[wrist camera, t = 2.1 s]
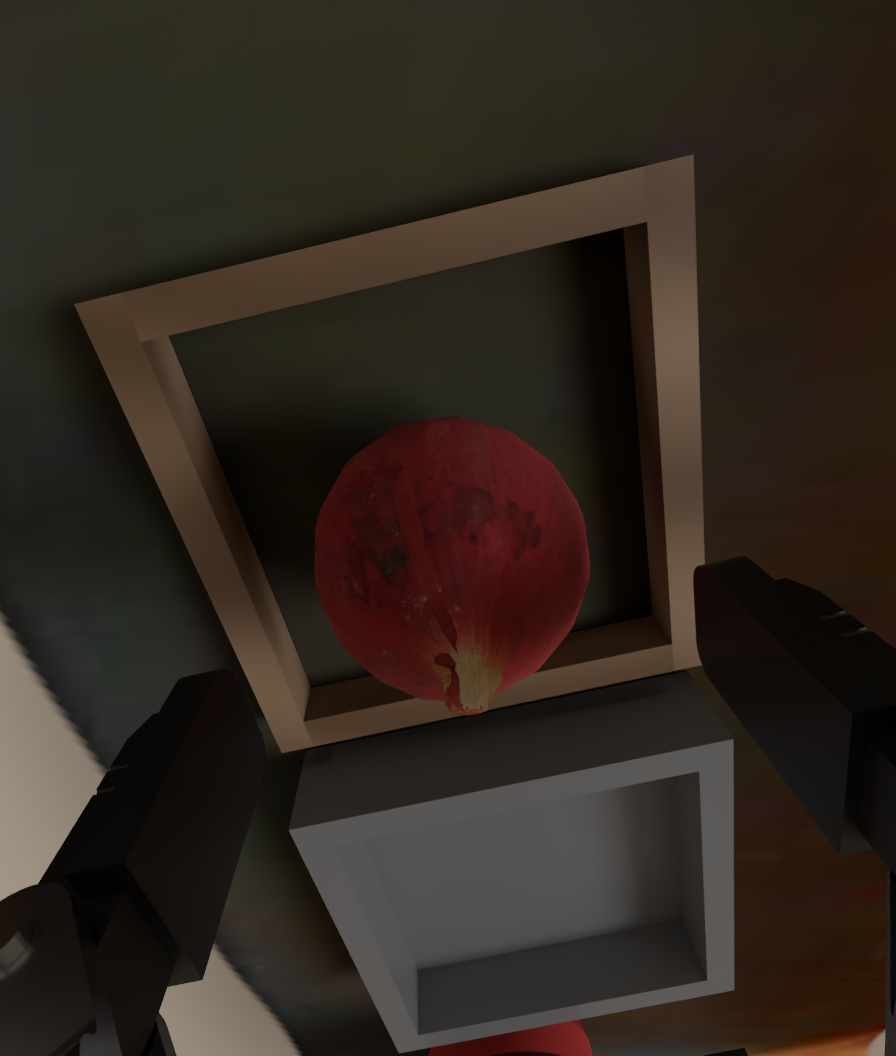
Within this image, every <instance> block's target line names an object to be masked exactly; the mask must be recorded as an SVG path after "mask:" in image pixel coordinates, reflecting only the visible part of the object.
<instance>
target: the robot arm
mask: <svg viewBox="0 0 896 1056" xmlns="http://www.w3.org/2000/svg"><path fill="white" fill-rule="evenodd" d="M693 588H694V608H695V627H696V644H697V650H698V654H699V658H700V661H701V664H702V666H703V668H704V671H705V673H706V675H707V676H708V678H709V680H710V681H711V682H712V684H713V685H714V686H715V688H716V689H717V690H718V692H719V693H720V695H721V696H722V697H723V699H724V700H725V701H726V703H727V704H728V705H729V707H730V708H731V709H732V711H733V712H734V713H735V715H736V716H737V717H738V719H739V720H740V721H741V723H742V724H743V725H744V727H745V728H746V730H747V731H748V732H749V734H750V735H751V736H752V738H753V739H754V740H755V742H756V743H757V744H758V746H759V747H760V748H761V750H762V751H763V752H764V754H765V755H766V756H767V758H768V759H769V761H770V762H771V763H772V765H773V766H774V767H775V769H776V770H777V771H778V773H779V774H780V775H781V777H782V778H783V779H784V781H785V782H786V783H787V785H788V786H789V787H790V789H791V790H792V792H793V793H794V794H795V796H796V797H797V798H798V800H799V801H800V802H801V804H802V805H803V806H804V808H805V809H806V810H807V812H808V813H809V814H810V816H811V817H812V818H813V820H814V821H815V822H816V824H817V825H818V827H819V828H820V829H821V831H822V832H823V833H824V835H825V836H826V837H827V839H828V840H829V841H830V843H831V844H832V845H833V847H834V848H835V849H836V851H837V852H838V853H839V855H844V854H849V853H854V852H859V851H864V850H869V849H874V850H875V851H876V853H877V854H878V855H879V856H880V858H881V859H882V860H883V861H884V862H885V864H886V865H887V866H888V874H887V882H886V1036H885V1038H886V1039H885V1056H896V649H895V648H893V647H892V646H891V645H889V644H888V643H887V642H885V641H884V640H883V639H882V638H880V637H879V636H878V635H876V634H875V633H874V632H872V631H871V632H868V631H867V627H866V626H865V625H863V624H862V623H861V622H859V621H858V620H857V619H855V618H854V617H853V616H851V615H846V613H845V610H844V609H842V608H841V607H840V606H838V605H837V604H836V603H835V602H833V601H832V600H831V599H829V598H828V597H827V596H825V595H824V594H823V593H821V592H820V591H818V590H815V589H813V588H810V587H808V586H805V585H802V584H800V583H797V582H795V581H792V580H790V579H787V578H784V579H779V580H774V579H773V578H772V577H771V576H769V575H768V574H767V573H766V572H765V571H763V570H762V569H761V568H760V567H759V566H757V565H756V564H755V563H754V562H752V561H751V560H750V559H749V558H747V557H745V556H741V557H736V558H731V559H727V560H722V561H718V562H713V563H709V564H704V565H699V566H697V567H696V568H695V570H694V574H693ZM265 766H266V751H265V744H264V740H263V737H262V734H261V732H260V729H259V727H258V725H257V723H256V721H255V719H254V716H253V714H252V712H251V710H250V708H249V706H248V703H247V701H246V699H245V697H244V695H243V693H242V690H241V688H240V686H239V684H238V682H237V680H236V678H235V676H234V674H233V673H232V672H231V671H230V670H228V669H226V668H224V669H219V670H214V671H210V672H205V673H201V674H196V675H191V676H187V677H183V678H181V679H179V680H178V681H177V683H176V684H175V686H174V687H173V689H172V691H171V692H170V694H169V696H168V698H167V699H166V701H165V703H164V704H163V706H162V708H161V710H160V711H159V713H156V714H153V715H152V716H151V717H150V718H149V719H148V720H147V721H146V722H145V723H144V724H143V725H142V726H141V727H140V728H139V729H137V730H136V731H135V732H134V733H133V734H132V735H131V736H130V737H129V738H128V739H127V741H126V742H125V744H124V746H123V747H122V749H121V750H120V752H119V754H118V755H117V757H116V759H115V760H114V762H113V763H112V765H111V771H109V772H107V773H106V775H105V776H104V778H103V780H102V781H101V783H100V785H99V786H98V788H97V795H93V796H92V797H91V799H90V801H89V802H88V804H87V806H86V807H85V809H84V811H83V812H82V814H81V815H80V817H79V818H78V820H77V822H76V823H75V825H74V827H73V828H72V830H71V831H70V833H69V835H68V836H67V838H66V840H65V841H64V843H63V844H62V846H61V848H60V849H59V851H58V852H57V854H56V856H55V857H54V859H53V861H52V862H51V864H50V865H49V867H48V869H47V870H46V872H45V874H44V875H43V877H42V878H41V880H40V882H39V883H38V884H36V885H33V886H30V887H27V888H24V889H22V890H20V891H18V892H16V893H14V894H11V895H10V896H8V897H6V898H5V899H3V900H1V901H0V1056H176V1053H175V1050H174V1047H173V1043H172V1041H171V1037H170V1034H169V1031H168V1028H167V1025H166V1023H165V1021H164V1019H163V1018H162V1016H161V1015H160V1014H159V1009H160V1007H161V1004H162V1001H163V998H164V995H165V992H166V989H167V987H169V986H174V985H179V984H184V983H189V982H194V981H199V980H203V976H204V973H205V970H206V966H207V963H208V960H209V956H210V953H211V950H212V946H213V943H214V940H215V936H216V933H217V930H218V926H219V923H220V920H221V916H222V913H223V910H224V906H225V903H226V899H227V896H228V893H229V889H230V886H231V883H232V879H233V876H234V873H235V869H236V866H237V863H238V859H239V856H240V853H241V849H242V846H243V843H244V839H245V836H246V833H247V829H248V826H249V822H250V819H251V816H252V812H253V809H254V806H255V802H256V799H257V796H258V792H259V789H260V786H261V782H262V779H263V776H264V772H265ZM704 1056H748V1055H747V1053H746V1051H745V1048H741V1049H736V1050H730V1051H725V1052H720V1053H715V1054H709V1055H704Z"/></svg>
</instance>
